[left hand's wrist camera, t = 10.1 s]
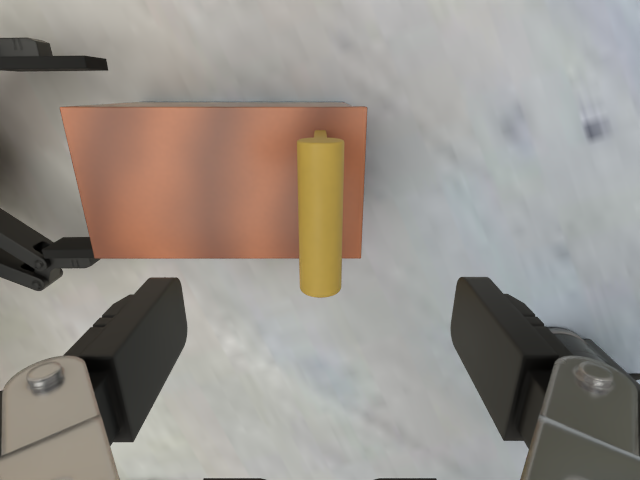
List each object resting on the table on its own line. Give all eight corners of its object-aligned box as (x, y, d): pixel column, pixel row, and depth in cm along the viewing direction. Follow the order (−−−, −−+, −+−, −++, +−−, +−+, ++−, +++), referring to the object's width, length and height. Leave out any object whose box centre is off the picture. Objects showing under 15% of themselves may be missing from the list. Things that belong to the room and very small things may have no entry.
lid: (365, 106, 24) (388, 114, 16) (359, 251, 27) (375, 318, 19) (72, 106, 24) (-55, 114, 16) (104, 251, 27) (14, 318, 19)
